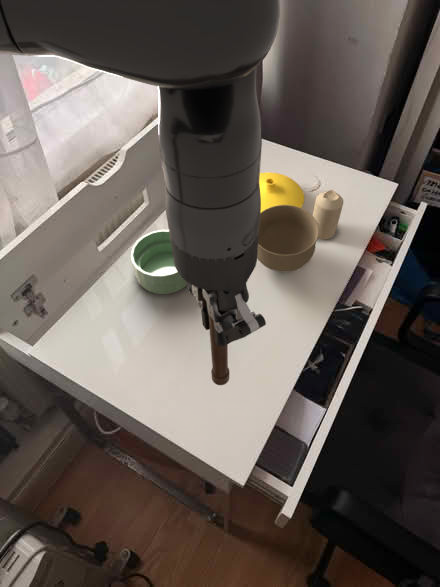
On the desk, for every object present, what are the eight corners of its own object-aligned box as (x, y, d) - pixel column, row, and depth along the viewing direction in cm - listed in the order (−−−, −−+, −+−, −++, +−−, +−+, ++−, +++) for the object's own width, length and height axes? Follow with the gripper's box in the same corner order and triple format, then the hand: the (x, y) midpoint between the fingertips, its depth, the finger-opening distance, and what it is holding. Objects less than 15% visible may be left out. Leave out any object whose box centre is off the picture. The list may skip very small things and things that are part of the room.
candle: (314, 218, 97) (322, 182, 89) (338, 226, 95) (348, 190, 87) (306, 235, 94) (313, 199, 86) (330, 242, 92) (340, 207, 84)
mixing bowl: (153, 305, 84) (148, 286, 79) (126, 265, 90) (120, 245, 85) (206, 277, 87) (204, 258, 82) (176, 241, 93) (173, 221, 89)
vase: (234, 183, 105) (234, 158, 99) (300, 183, 104) (304, 159, 98) (233, 229, 95) (233, 205, 90) (305, 231, 95) (310, 206, 89)
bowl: (237, 267, 89) (238, 232, 81) (272, 231, 95) (275, 195, 87) (290, 296, 84) (296, 262, 76) (323, 256, 90) (332, 221, 82)
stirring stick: (217, 388, 58) (214, 321, 45) (208, 375, 59) (201, 305, 46) (232, 379, 59) (233, 310, 45) (223, 366, 60) (221, 294, 47)
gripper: (135, 193, 38) (161, 306, 52) (221, 299, 31) (224, 397, 45) (208, 163, 40) (214, 279, 54) (303, 255, 33) (281, 361, 47)
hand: (218, 332), depth 49 cm, fingers closed on stirring stick, 2 cm apart
